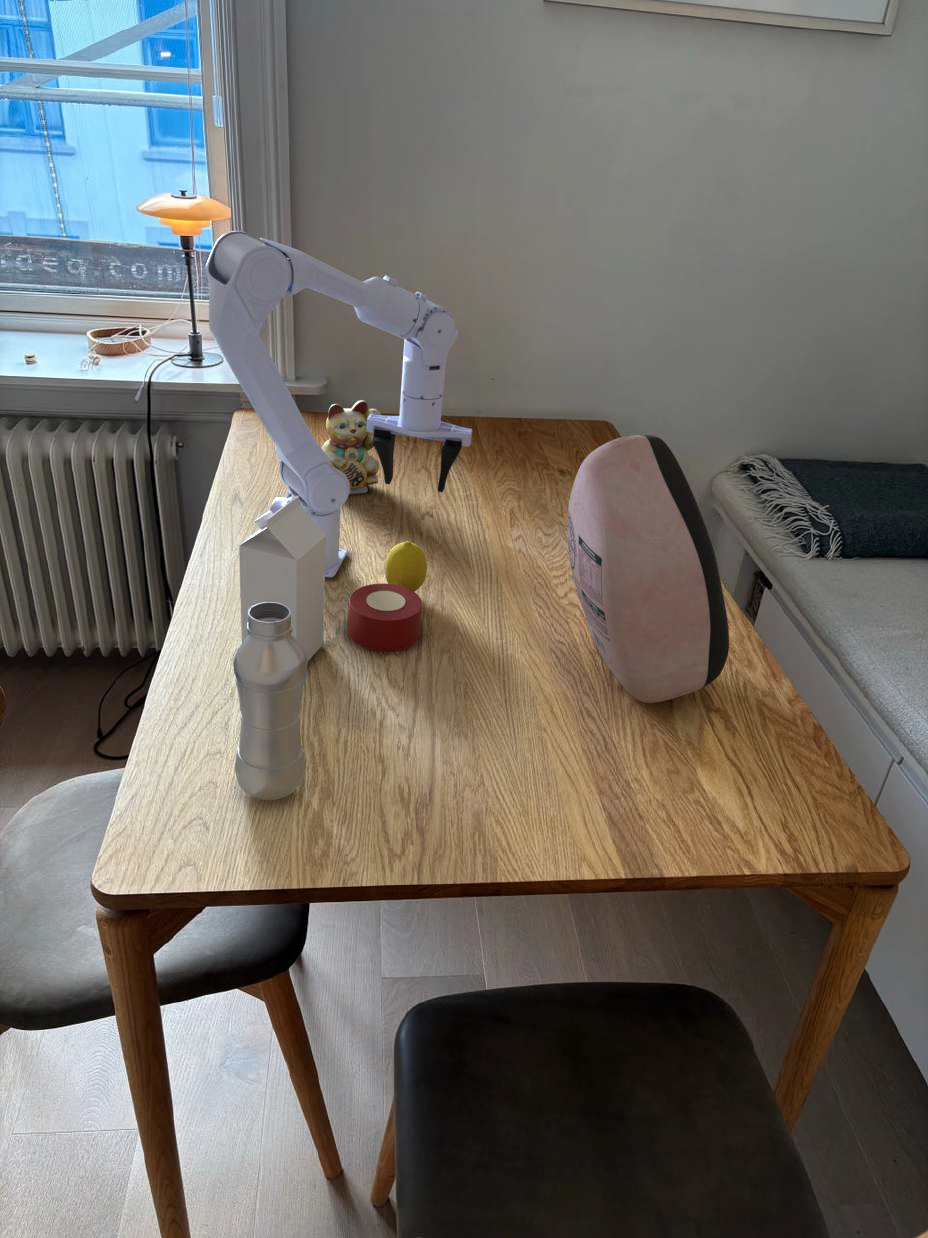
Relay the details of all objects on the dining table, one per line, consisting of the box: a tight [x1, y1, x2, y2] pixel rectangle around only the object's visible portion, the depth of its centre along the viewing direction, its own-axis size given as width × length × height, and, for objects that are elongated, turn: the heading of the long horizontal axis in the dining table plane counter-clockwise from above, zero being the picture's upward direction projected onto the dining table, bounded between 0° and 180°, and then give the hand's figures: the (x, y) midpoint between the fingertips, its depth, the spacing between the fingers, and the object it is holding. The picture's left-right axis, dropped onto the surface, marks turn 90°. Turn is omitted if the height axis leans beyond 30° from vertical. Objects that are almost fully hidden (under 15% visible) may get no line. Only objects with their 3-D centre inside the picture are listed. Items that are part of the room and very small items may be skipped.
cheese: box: [347, 582, 423, 653], centre depth 118 cm, size 9×9×5 cm
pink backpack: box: [566, 434, 730, 704], centre depth 109 cm, size 22×20×30 cm
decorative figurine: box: [321, 399, 382, 495], centre depth 152 cm, size 10×8×15 cm
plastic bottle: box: [232, 602, 309, 801], centre depth 88 cm, size 6×7×20 cm
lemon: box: [384, 540, 428, 593], centre depth 126 cm, size 6×6×8 cm
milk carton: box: [238, 496, 326, 662], centre depth 108 cm, size 7×7×19 cm
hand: (414, 485), depth 136 cm, fingers open, 7 cm apart
